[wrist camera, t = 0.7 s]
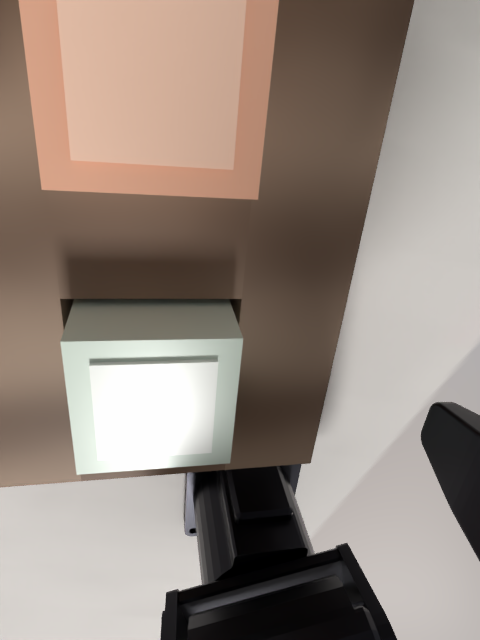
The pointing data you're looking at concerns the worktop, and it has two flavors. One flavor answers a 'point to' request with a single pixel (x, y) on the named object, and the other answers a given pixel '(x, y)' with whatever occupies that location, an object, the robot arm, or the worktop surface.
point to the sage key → (151, 382)
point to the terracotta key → (150, 94)
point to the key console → (203, 242)
